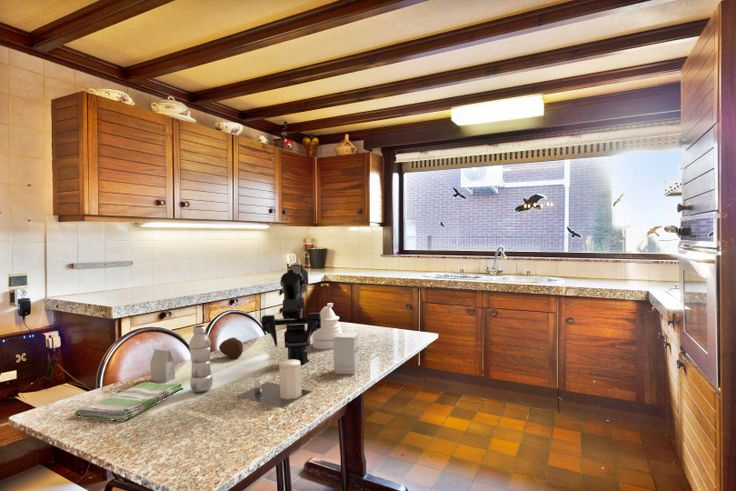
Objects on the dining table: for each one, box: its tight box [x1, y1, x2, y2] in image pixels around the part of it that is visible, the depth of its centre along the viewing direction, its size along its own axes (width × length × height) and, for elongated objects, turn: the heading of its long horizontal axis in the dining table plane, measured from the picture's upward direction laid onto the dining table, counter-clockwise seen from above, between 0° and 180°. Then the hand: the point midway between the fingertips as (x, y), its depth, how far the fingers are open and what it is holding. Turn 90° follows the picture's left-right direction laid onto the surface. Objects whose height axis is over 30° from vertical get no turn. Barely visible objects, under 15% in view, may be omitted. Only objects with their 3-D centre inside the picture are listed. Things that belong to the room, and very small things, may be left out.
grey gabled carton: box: [149, 348, 176, 383], centre depth 138 cm, size 4×7×10 cm, turn 69°
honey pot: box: [312, 302, 343, 350], centre depth 176 cm, size 13×13×18 cm
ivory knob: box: [278, 359, 303, 399], centre depth 120 cm, size 6×6×10 cm
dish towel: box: [74, 381, 184, 422], centre depth 120 cm, size 17×23×4 cm
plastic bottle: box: [188, 324, 214, 393], centre depth 127 cm, size 6×7×20 cm
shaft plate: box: [235, 379, 313, 409], centre depth 121 cm, size 18×13×4 cm
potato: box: [218, 337, 244, 359], centre depth 162 cm, size 7×10×8 cm
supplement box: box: [333, 332, 360, 375], centre depth 142 cm, size 7×7×13 cm
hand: (291, 345), depth 127 cm, fingers open, 9 cm apart
